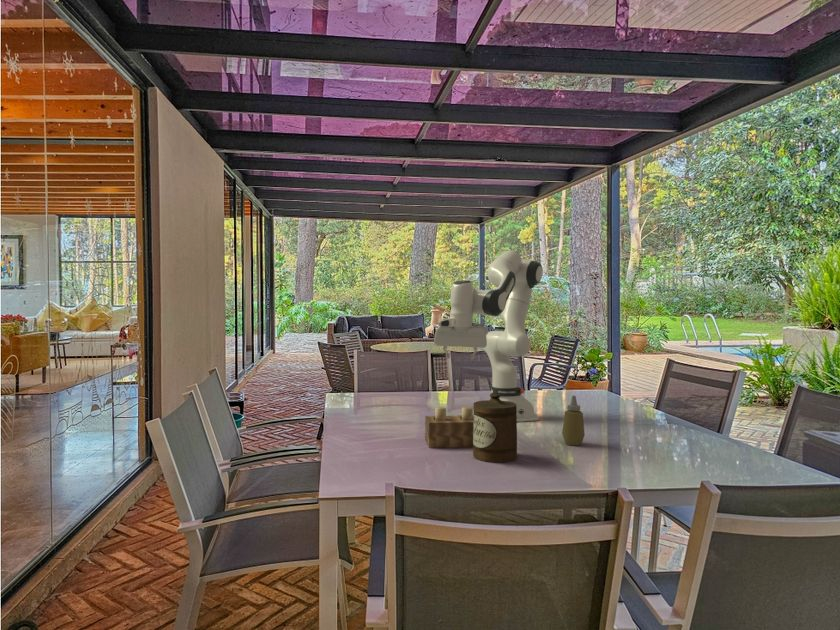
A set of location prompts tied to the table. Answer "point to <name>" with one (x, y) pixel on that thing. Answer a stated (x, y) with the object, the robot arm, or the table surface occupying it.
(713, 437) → the table surface
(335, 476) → the table surface
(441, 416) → the peg
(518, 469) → the table surface
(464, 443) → the socket block
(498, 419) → the wooden container
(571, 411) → the squeeze bottle
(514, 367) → the robot arm
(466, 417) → the peg
